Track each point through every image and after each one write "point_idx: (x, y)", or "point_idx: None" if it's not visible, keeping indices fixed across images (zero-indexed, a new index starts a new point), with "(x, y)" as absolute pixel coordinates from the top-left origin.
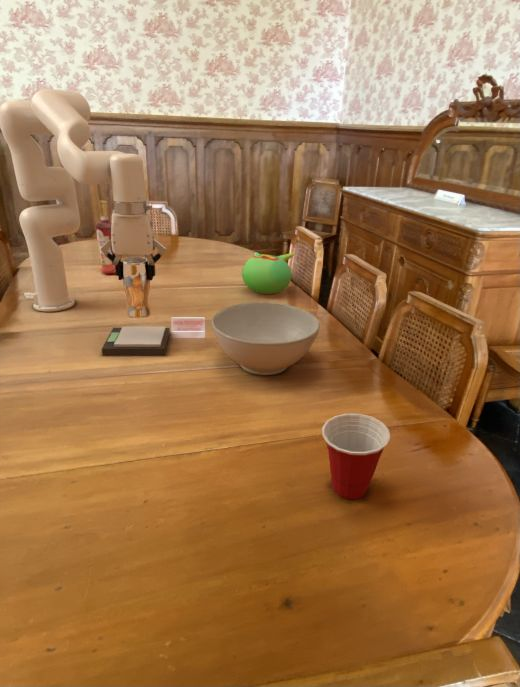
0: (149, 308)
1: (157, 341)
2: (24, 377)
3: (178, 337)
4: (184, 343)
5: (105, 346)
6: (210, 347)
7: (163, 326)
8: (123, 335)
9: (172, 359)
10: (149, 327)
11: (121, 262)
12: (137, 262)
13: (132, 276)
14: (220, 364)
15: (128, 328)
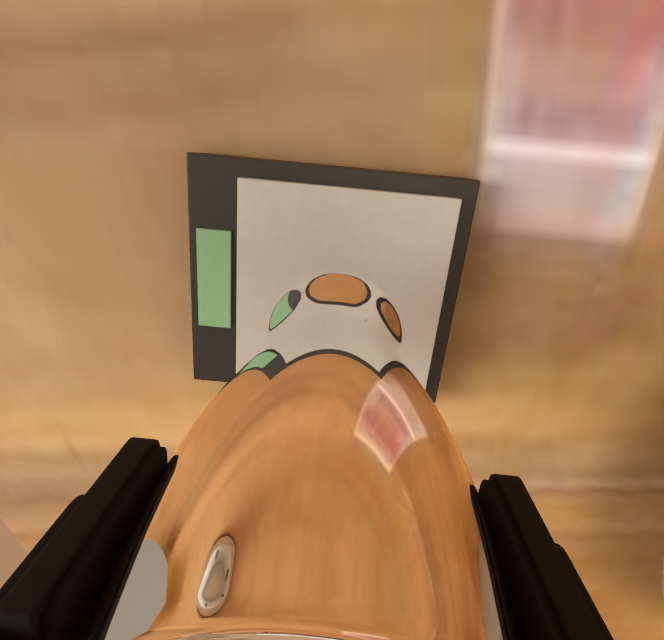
0: (401, 356)
1: (413, 370)
2: (16, 472)
3: (506, 224)
4: (523, 291)
5: (203, 362)
6: (624, 340)
7: (450, 199)
8: (259, 294)
9: (456, 418)
10: (376, 207)
11: (37, 635)
12: (323, 520)
13: None
14: (616, 468)
15: (270, 211)
